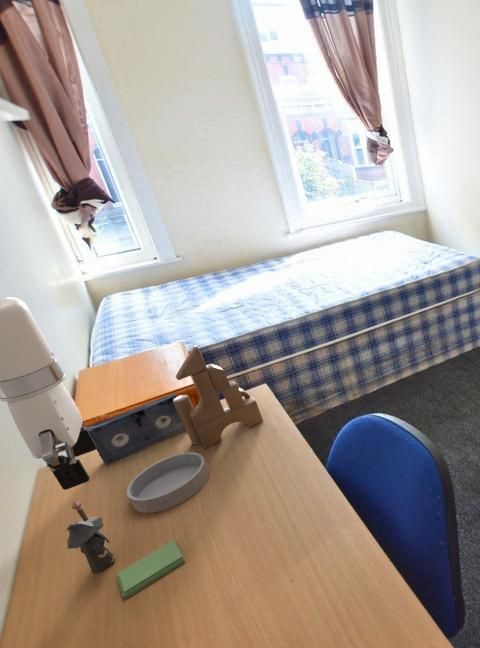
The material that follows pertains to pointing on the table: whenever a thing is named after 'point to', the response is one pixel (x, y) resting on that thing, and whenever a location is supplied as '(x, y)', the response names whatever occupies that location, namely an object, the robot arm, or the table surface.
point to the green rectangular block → (149, 569)
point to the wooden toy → (212, 402)
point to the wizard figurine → (90, 540)
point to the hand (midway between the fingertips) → (81, 467)
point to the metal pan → (168, 482)
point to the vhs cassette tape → (136, 429)
